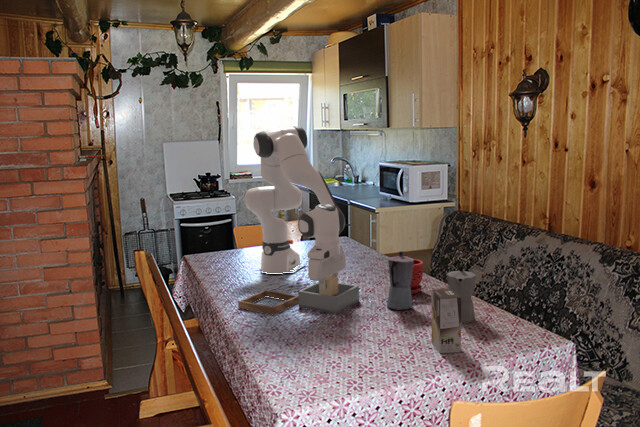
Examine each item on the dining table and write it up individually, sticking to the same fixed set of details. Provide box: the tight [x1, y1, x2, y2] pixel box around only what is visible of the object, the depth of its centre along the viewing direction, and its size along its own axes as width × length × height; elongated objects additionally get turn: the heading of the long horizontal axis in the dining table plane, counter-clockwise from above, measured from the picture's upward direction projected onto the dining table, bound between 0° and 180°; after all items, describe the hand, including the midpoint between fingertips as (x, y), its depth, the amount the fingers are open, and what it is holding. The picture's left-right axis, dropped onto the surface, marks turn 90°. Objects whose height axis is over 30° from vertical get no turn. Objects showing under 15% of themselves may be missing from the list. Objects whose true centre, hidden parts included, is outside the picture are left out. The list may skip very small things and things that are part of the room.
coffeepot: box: [446, 265, 477, 324], centre depth 178 cm, size 15×9×18 cm, turn 162°
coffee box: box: [430, 288, 462, 354], centre depth 154 cm, size 9×6×16 cm
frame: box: [237, 289, 299, 316], centre depth 197 cm, size 16×16×2 cm
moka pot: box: [386, 251, 414, 311], centre depth 190 cm, size 10×15×20 cm, turn 155°
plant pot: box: [410, 258, 424, 295], centre depth 209 cm, size 13×13×12 cm
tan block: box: [319, 275, 339, 296], centre depth 195 cm, size 5×5×6 cm
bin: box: [297, 281, 360, 315], centre depth 196 cm, size 16×16×6 cm
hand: (328, 286), depth 195 cm, fingers closed on tan block, 5 cm apart
